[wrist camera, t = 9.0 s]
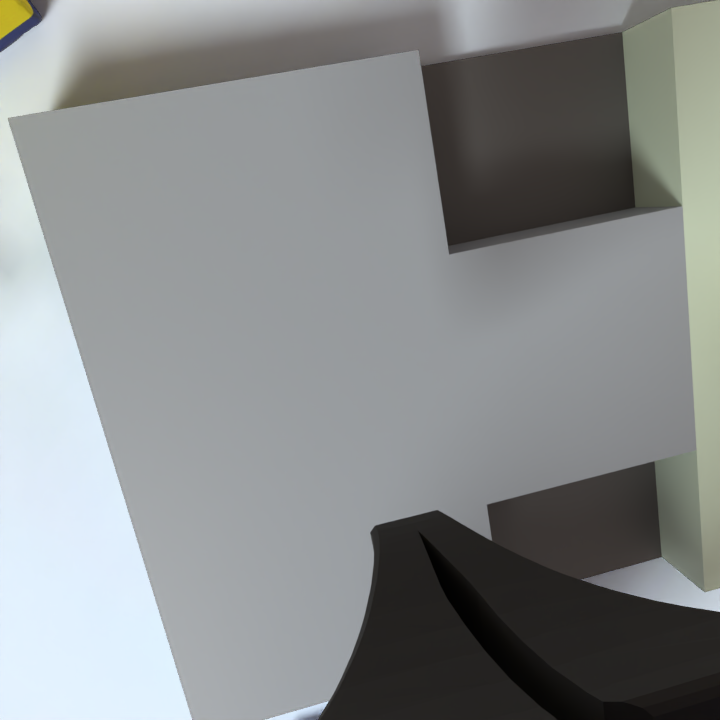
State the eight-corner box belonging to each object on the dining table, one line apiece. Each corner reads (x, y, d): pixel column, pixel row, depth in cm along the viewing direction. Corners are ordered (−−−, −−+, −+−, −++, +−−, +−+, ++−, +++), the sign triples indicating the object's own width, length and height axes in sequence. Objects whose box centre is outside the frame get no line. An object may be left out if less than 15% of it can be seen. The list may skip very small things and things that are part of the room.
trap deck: (868, 495, 25) (983, 546, 21) (204, 680, 22) (193, 781, 18) (877, -10, 20) (1024, -64, 16) (41, 132, 17) (-19, 107, 13)
